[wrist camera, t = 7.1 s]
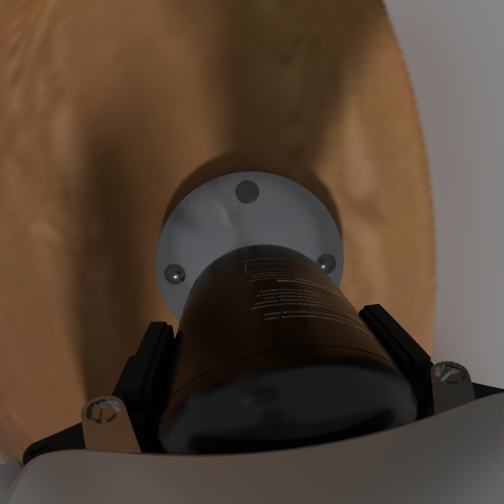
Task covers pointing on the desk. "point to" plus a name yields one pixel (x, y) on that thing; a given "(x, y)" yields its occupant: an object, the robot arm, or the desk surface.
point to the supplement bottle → (274, 362)
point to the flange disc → (242, 228)
